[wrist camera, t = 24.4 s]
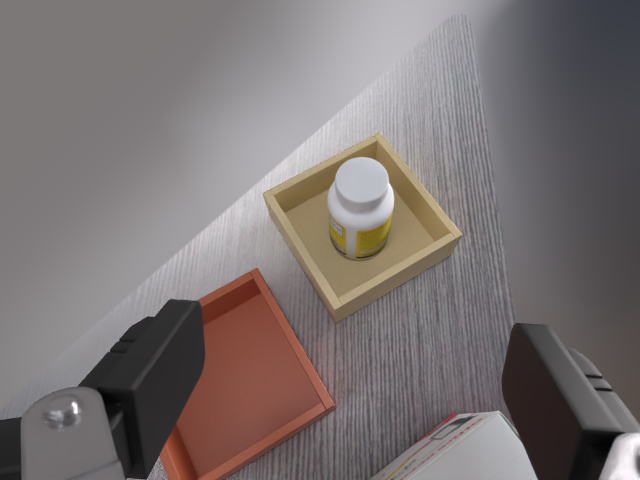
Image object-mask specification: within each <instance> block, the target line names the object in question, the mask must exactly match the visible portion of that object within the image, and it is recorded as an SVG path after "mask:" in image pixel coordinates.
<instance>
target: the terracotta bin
mask: <svg viewBox="0 0 640 480" xmlns="http://www.w3.org/2000/svg"><path fill="white" fill-rule="evenodd" d="M198 301H199V302H200V304H201V307H202V315H203V327H204V340H205V363H204V368H203V372H202V374H201V377H200V378H199V380H198V382H197V384H196V386H195V388H194V390H193V392H192V394H191V396H190V398H189V399H188V401H187V403H186V405H185V407H184V409H183V411H182V413H181V415H180V417H179V419H178V420H177V422H176V424H175V426H174V428H173V430H172V432H171V434H170V436H169V438H168V440H167V442H166V443H165V445H164V447H163V449H162V451H161V453H160V455H159V456H160V458H161V461H162V464H163V466H164V469H165V471H166V474H167V476H168V479H169V480H224V479H226V478H228V477H229V476H231V475H232V474H234V473H235V472H237V471H239V470H240V469H242V468H243V467H245V466H247V465H248V464H250V463H251V462H253V461H254V460H256V459H258V458H259V457H261V456H262V455H264V454H265V453H267V452H269V451H270V450H272V449H273V448H275V447H277V446H278V445H280V444H281V443H283V442H284V441H286V440H288V439H289V438H291V437H292V436H294V435H296V434H297V433H299V432H300V431H302V430H303V429H305V428H307V427H308V426H310V425H311V424H313V423H315V422H316V421H318V420H319V419H321V418H322V417H324V416H326V415H327V414H329V413H330V412H332V411H334V410H335V409H336V408H335V405H334V403H333V401H332V399H331V397H330V396H329V394H328V392H327V390H326V389H325V387H324V385H323V383H322V381H321V380H320V378H319V376H318V374H317V373H316V371H315V369H314V367H313V365H312V364H311V362H310V360H309V358H308V357H307V355H306V353H305V351H304V350H303V348H302V346H301V344H300V342H299V341H298V339H297V337H296V335H295V334H294V332H293V330H292V328H291V327H290V325H289V323H288V321H287V319H286V318H285V316H284V314H283V312H282V311H281V309H280V307H279V305H278V304H277V302H276V300H275V298H274V296H273V295H272V293H271V291H270V289H269V288H268V286H267V284H266V282H265V280H264V279H263V277H262V275H261V273H260V272H259V270H258V268H256V269H254V270H252V271H250V272H248V273H246V274H245V275H243V276H241V277H239V278H237V279H236V280H234V281H232V282H230V283H228V284H227V285H225V286H223V287H221V288H219V289H217V290H216V291H214V292H212V293H210V294H208V295H207V296H205V297H203V298H201V299H199V300H198Z"/></svg>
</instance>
